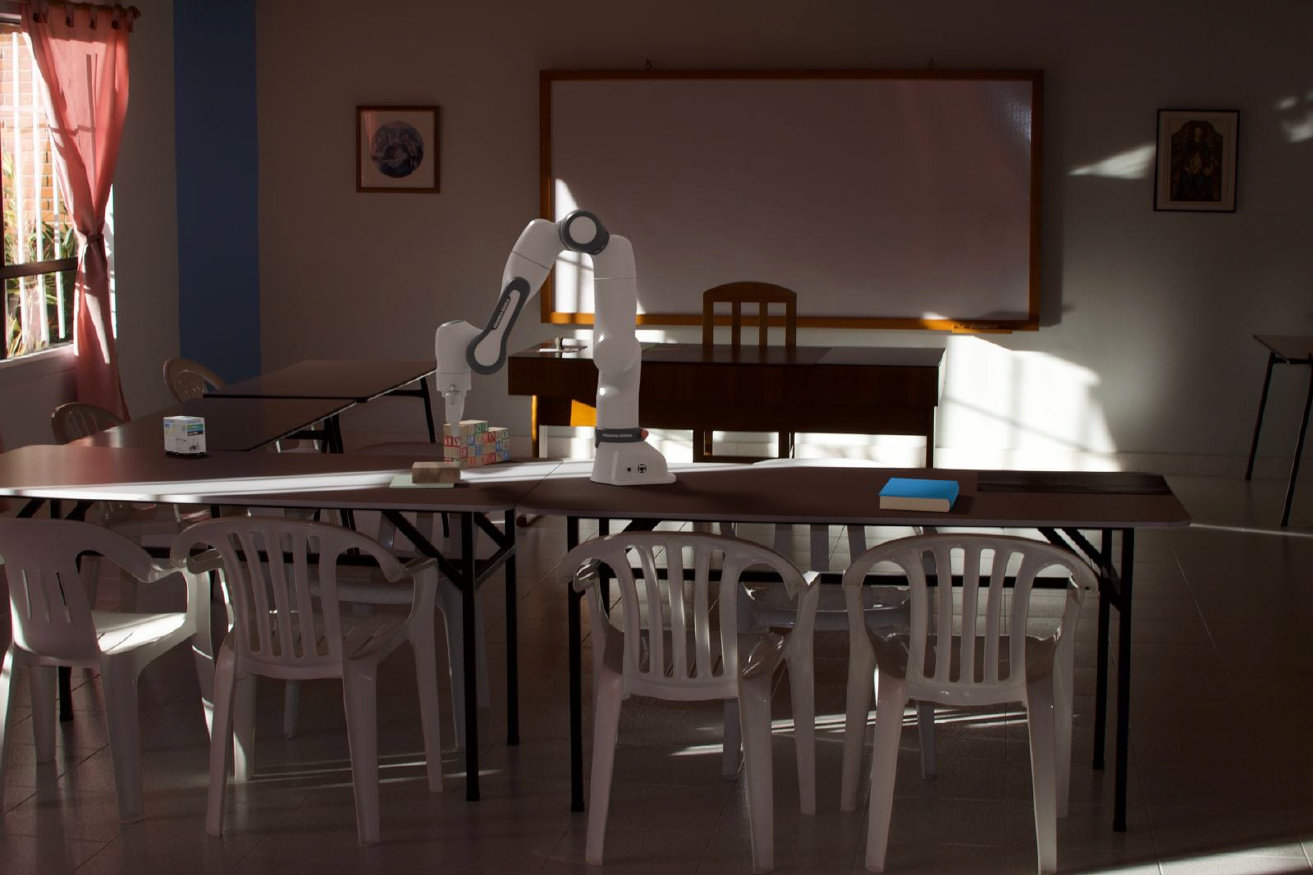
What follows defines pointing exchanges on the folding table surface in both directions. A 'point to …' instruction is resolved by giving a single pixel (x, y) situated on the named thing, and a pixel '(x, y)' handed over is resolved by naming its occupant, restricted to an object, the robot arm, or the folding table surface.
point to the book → (919, 494)
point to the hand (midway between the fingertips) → (455, 436)
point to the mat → (406, 482)
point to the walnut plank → (436, 472)
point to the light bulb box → (184, 434)
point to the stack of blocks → (476, 444)
